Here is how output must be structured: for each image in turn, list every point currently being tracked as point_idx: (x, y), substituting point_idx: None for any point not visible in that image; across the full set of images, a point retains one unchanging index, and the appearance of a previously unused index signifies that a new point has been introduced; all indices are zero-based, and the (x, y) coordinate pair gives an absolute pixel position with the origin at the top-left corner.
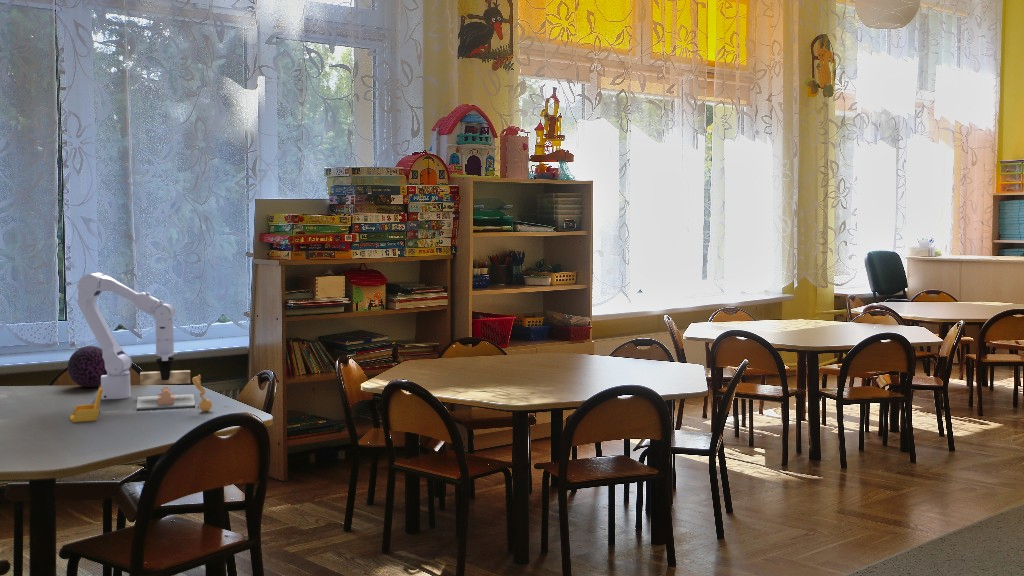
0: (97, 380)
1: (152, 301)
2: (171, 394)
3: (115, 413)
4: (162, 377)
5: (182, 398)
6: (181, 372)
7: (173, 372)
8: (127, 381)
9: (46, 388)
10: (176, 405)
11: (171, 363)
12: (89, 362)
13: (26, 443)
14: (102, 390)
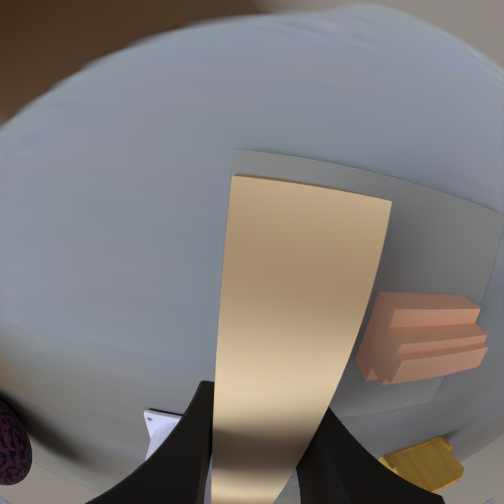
0: (15, 425)
1: None
2: (423, 320)
3: (407, 429)
4: None
5: None
6: (354, 326)
7: (328, 405)
8: (210, 490)
9: (37, 452)
10: (486, 287)
11: (423, 494)
12: (12, 471)
13: (480, 445)
14: (461, 476)
